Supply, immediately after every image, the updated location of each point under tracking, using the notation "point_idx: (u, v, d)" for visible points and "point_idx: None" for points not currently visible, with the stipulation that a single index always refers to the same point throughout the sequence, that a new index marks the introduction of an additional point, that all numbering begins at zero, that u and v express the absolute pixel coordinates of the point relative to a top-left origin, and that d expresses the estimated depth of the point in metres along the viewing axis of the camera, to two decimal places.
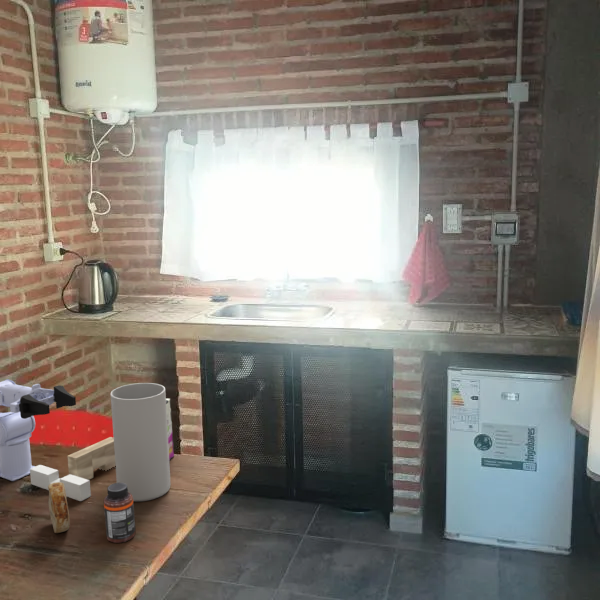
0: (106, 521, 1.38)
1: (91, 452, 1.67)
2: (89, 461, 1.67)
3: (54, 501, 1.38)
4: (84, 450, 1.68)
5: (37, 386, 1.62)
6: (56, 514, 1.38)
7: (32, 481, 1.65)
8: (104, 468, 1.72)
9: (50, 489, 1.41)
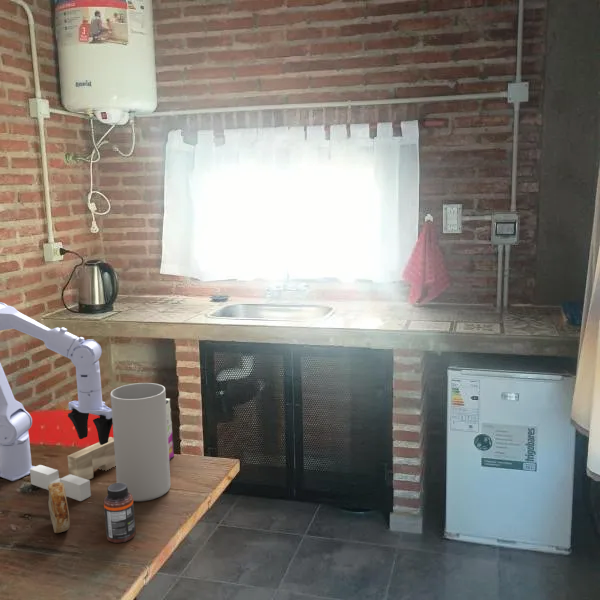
0: (106, 521, 1.38)
1: (91, 452, 1.67)
2: (89, 461, 1.67)
3: (54, 501, 1.38)
4: (84, 450, 1.68)
5: None
6: (56, 514, 1.38)
7: (32, 481, 1.65)
8: (104, 468, 1.72)
9: (50, 489, 1.41)
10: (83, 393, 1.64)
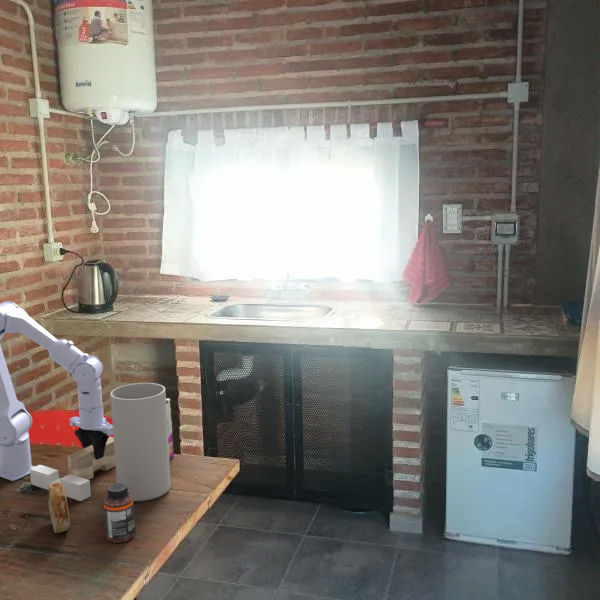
0: (106, 521, 1.38)
1: (91, 452, 1.67)
2: (89, 461, 1.67)
3: (54, 501, 1.38)
4: (84, 450, 1.68)
5: None
6: (56, 514, 1.38)
7: (32, 481, 1.65)
8: (104, 468, 1.72)
9: (50, 489, 1.41)
10: (84, 410, 1.65)
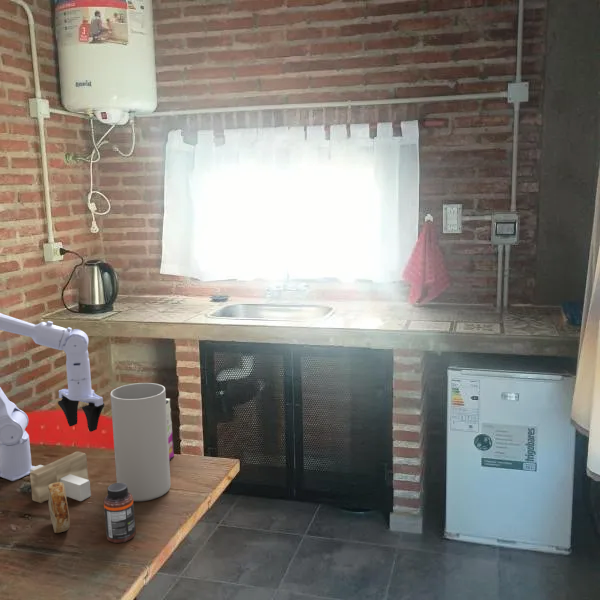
0: (106, 521, 1.38)
1: (55, 468, 1.58)
2: (53, 477, 1.58)
3: (54, 501, 1.38)
4: (48, 466, 1.59)
5: None
6: (56, 514, 1.38)
7: None
8: None
9: (50, 489, 1.41)
10: (73, 381, 1.69)
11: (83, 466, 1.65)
